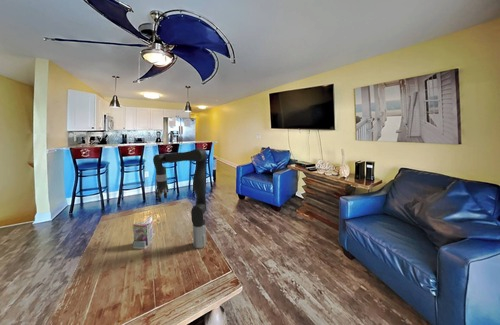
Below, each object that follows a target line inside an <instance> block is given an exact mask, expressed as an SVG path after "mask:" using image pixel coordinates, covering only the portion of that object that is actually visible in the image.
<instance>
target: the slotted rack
mask: <svg viewBox="0 0 500 325" xmlns="http://www.w3.org/2000/svg"><path fill="white" fill-rule="evenodd" d="M152 238H153V236H152V235H151V243H150V244H152V243H153V239H152ZM146 248H148V246H147V245H146V241H134V240H133V241H132V249H138V250H140V249H141V250H146Z"/></svg>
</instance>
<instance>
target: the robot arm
mask: <svg viewBox="0 0 500 325" xmlns="http://www.w3.org/2000/svg"><path fill="white" fill-rule="evenodd" d="M207 155H208V154H207V151H206V150H205V149H204V148H202V147H201V148H200V147H199V148H195V149H191V150H187V151H182V152H181V151H180V152H178V151H177V152H169V153H159V154H155V155H153V159H152V162H153V165H154V168H155V179H156V180H155V181H156V183H155V184H156V187H157V189H156V188H155V197H156V198H157V202H158V203H162V196H163V199H167V198H168V193H169V185H168V178H167V177H168V176H167V167H166V166H163V164H165V163H177V162H187V161H188V162H196V164H195V171H194V173H193V176H192V189H193V191H194V194H195V205H194V206H192V208H191V210H190V213H191V214H190V216H191V217H190V218H191V223H192V235H193V236H192V244H193V246H192V247H193V248H195V249H202V248H203V249H204V248H206V247H205V246H206V245H207V232H206V219H204V215H205V213H206V212H207V199H206V191H207V190H206V187H207V186H206V184H207V183H206V177H207V176H206V175H207V174H206V172H207V171H206V164H207Z"/></svg>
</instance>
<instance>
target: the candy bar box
mask: <svg viewBox="0 0 500 325" xmlns="http://www.w3.org/2000/svg"><path fill="white" fill-rule="evenodd" d="M151 226H152V225H151V222H143V221H142V222H141V221H136V222H135V223H133V224H132V231H133V241H146V245H147V247H149V246H150V245H151V244H152V243H151V236H152V230H151Z"/></svg>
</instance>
